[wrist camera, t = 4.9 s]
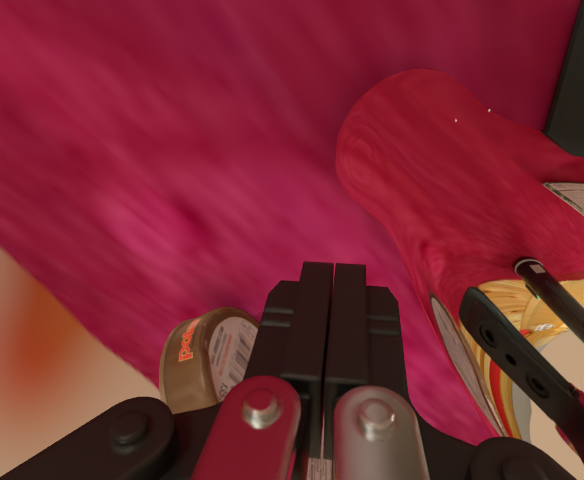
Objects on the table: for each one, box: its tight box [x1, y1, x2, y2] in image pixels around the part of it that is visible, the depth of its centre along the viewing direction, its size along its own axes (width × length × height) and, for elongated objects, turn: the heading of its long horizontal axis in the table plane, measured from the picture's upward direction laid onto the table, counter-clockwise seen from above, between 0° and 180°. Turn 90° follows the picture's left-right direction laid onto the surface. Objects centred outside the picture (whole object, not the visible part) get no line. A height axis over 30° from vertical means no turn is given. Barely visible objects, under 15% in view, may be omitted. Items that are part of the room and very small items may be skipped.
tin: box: [159, 307, 332, 480], centre depth 24 cm, size 15×3×8 cm, turn 32°
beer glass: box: [335, 69, 584, 480], centre depth 12 cm, size 7×7×15 cm
